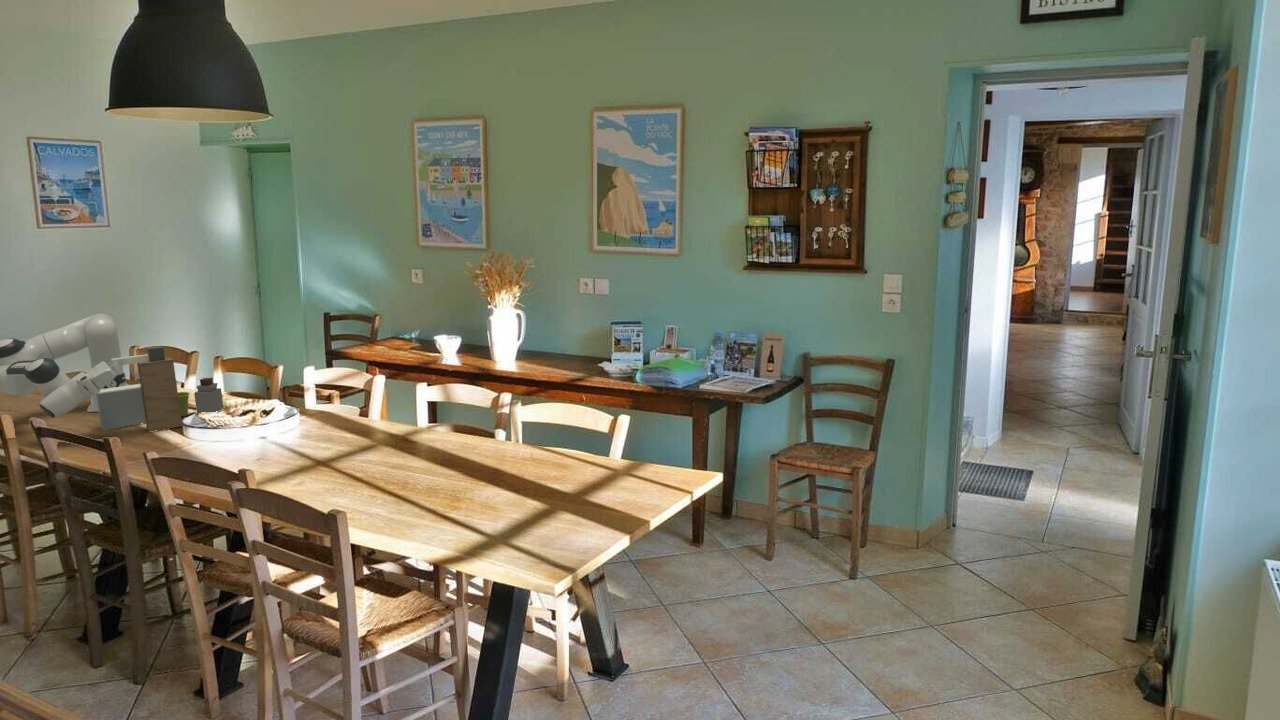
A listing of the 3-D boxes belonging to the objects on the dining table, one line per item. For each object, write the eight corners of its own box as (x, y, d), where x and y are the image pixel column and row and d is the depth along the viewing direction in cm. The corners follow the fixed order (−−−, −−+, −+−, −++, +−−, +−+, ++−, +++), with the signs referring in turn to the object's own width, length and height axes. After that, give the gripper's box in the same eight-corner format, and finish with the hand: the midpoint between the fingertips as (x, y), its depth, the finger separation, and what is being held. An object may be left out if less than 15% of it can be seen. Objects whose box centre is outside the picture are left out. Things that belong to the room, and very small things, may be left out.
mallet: (113, 366, 335) (111, 353, 334) (111, 364, 339) (109, 352, 338) (164, 360, 344) (163, 347, 344) (162, 358, 348) (160, 345, 347)
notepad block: (101, 426, 354) (95, 390, 351) (147, 419, 363) (142, 383, 360) (103, 430, 348) (97, 393, 346) (150, 422, 358) (145, 386, 355)
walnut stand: (146, 428, 350) (136, 360, 345) (178, 422, 356) (169, 356, 351) (150, 432, 343) (140, 364, 338) (182, 426, 350) (173, 359, 345)
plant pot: (161, 419, 362) (158, 397, 361) (173, 413, 372) (170, 392, 370) (186, 418, 363) (183, 397, 361) (196, 412, 372) (193, 391, 370)
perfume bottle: (225, 422, 354) (219, 376, 351) (215, 427, 348) (209, 380, 344) (208, 422, 355) (202, 376, 351) (198, 427, 348) (192, 380, 345)
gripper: (89, 385, 342) (123, 362, 348) (96, 395, 326) (132, 370, 332) (77, 372, 340) (112, 349, 345) (84, 381, 323) (119, 357, 329)
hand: (121, 360), depth 338 cm, fingers closed on mallet, 2 cm apart
